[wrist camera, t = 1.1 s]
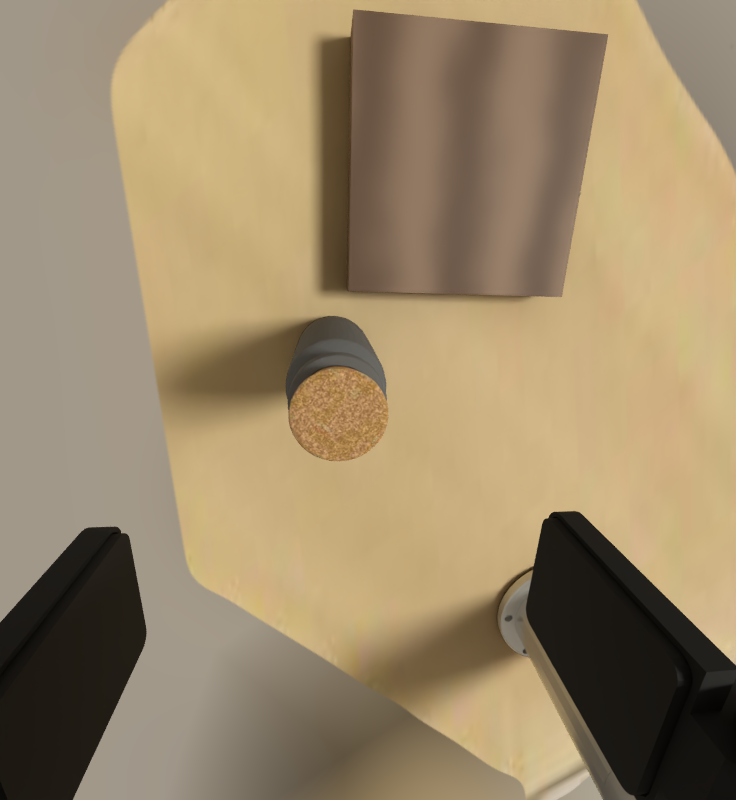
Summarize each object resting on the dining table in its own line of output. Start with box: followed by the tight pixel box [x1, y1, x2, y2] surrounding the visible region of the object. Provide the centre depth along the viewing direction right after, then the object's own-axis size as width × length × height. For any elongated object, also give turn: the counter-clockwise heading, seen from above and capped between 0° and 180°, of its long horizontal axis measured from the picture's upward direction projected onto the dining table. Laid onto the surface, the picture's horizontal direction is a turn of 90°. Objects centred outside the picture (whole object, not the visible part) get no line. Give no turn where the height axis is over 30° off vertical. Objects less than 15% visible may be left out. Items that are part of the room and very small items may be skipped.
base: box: [347, 10, 608, 297], centre depth 29 cm, size 16×16×3 cm
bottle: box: [286, 316, 388, 461], centre depth 26 cm, size 6×6×15 cm
